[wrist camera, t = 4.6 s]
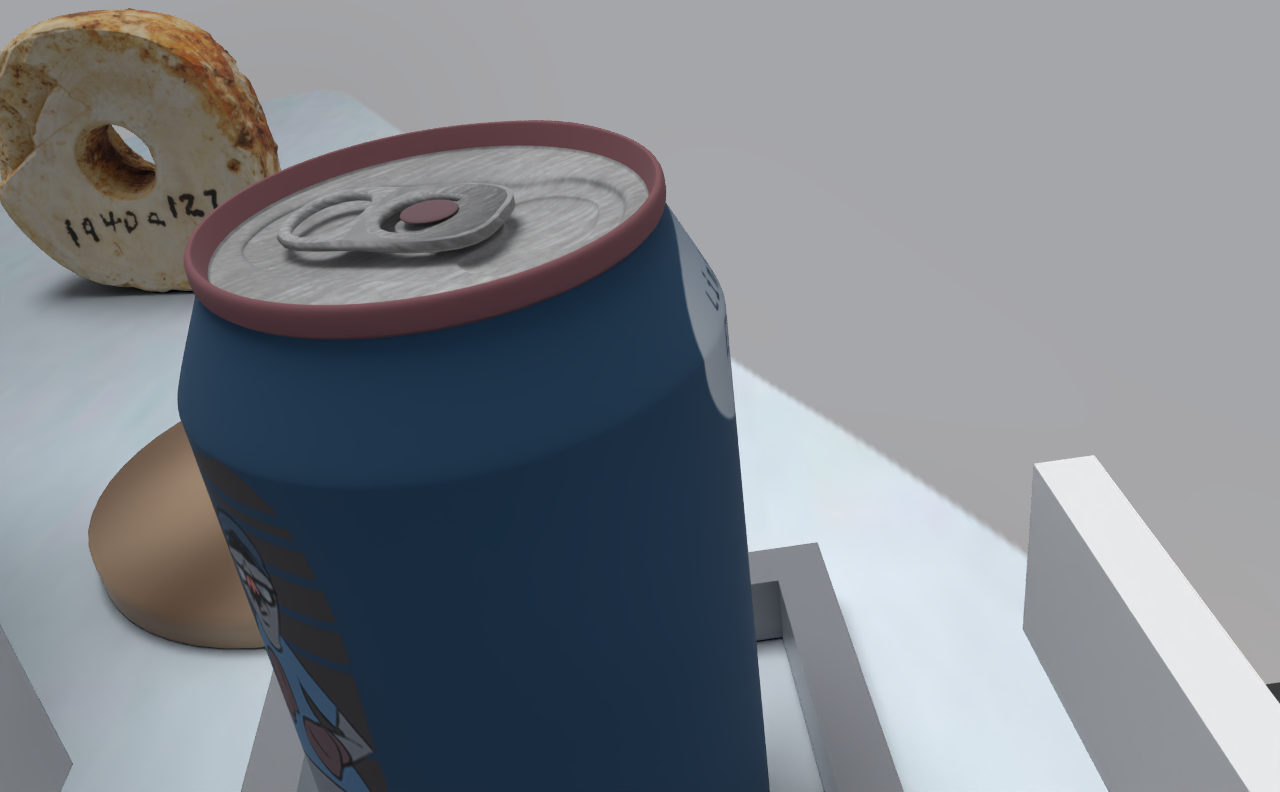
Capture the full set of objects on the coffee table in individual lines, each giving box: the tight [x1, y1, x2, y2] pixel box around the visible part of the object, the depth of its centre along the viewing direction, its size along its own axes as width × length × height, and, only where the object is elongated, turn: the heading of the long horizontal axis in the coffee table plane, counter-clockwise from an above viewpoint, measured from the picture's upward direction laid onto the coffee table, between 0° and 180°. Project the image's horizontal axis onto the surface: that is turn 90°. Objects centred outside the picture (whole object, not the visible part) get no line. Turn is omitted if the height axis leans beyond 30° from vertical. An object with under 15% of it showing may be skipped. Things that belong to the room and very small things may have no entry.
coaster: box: [88, 422, 265, 648], centre depth 30 cm, size 11×11×1 cm
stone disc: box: [0, 8, 281, 292], centre depth 42 cm, size 10×4×10 cm, turn 79°
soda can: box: [178, 120, 770, 792], centre depth 17 cm, size 7×7×12 cm
